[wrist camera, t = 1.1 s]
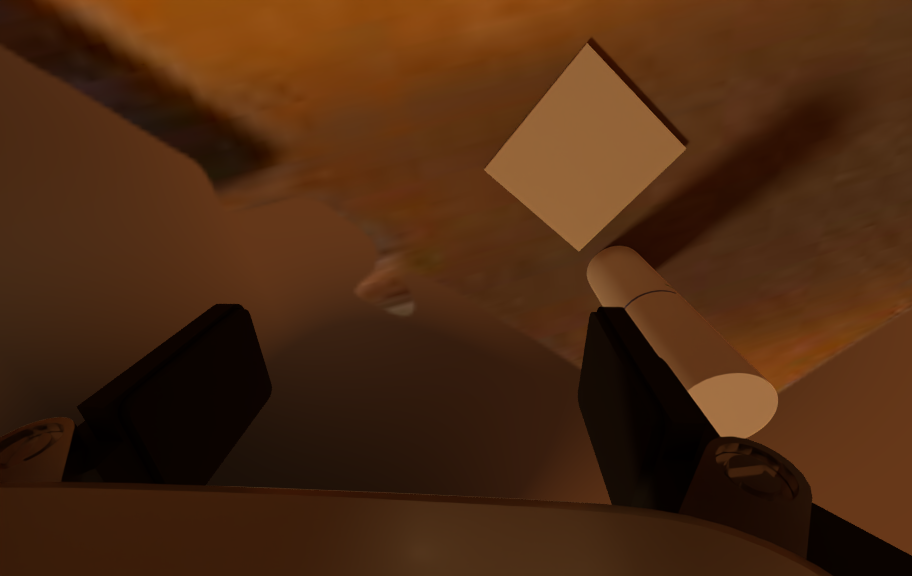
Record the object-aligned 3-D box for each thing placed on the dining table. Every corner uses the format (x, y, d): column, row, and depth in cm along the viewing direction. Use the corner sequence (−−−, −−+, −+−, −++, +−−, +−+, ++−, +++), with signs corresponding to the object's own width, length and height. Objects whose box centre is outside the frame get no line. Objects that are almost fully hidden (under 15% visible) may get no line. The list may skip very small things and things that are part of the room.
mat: (585, 44, 38) (587, 43, 38) (683, 147, 42) (686, 148, 41) (484, 168, 44) (484, 169, 44) (577, 249, 48) (578, 251, 48)
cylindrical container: (596, 241, 48) (696, 366, 26) (650, 249, 48) (798, 380, 26) (580, 290, 51) (657, 438, 29) (631, 297, 51) (747, 451, 29)
